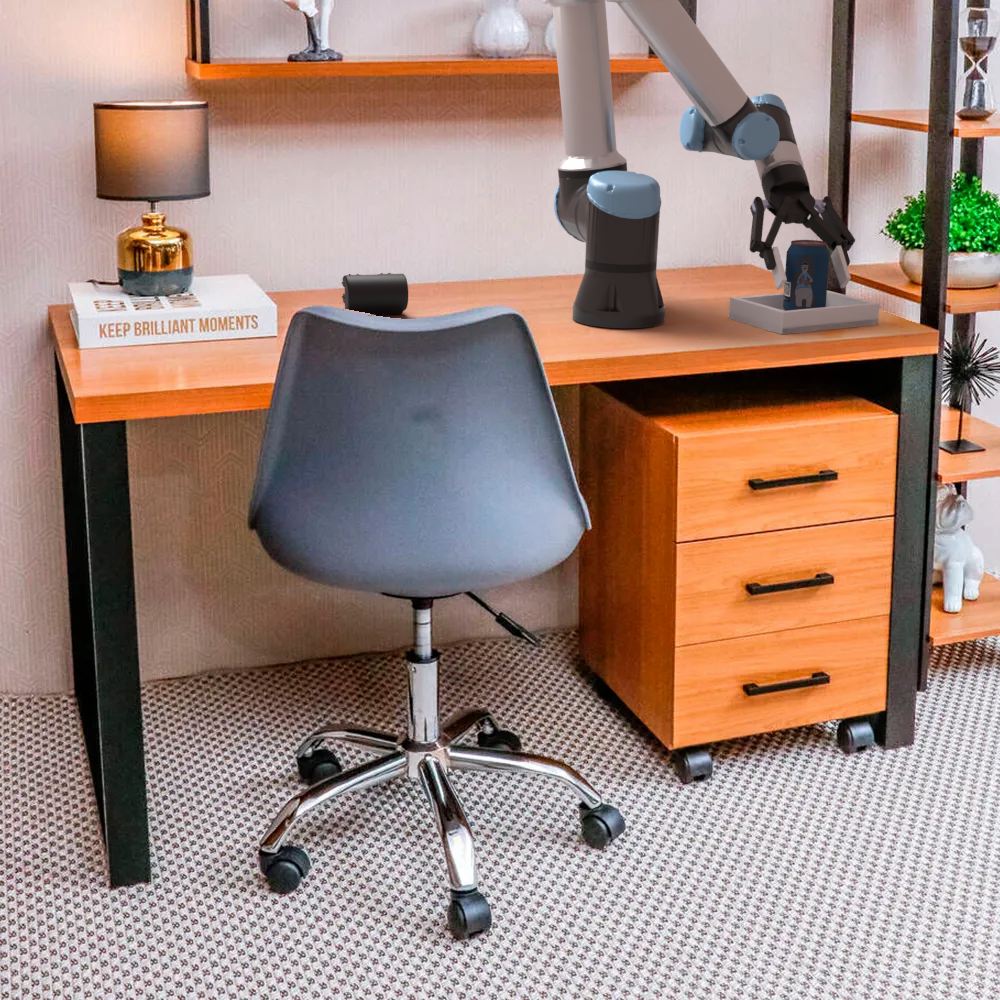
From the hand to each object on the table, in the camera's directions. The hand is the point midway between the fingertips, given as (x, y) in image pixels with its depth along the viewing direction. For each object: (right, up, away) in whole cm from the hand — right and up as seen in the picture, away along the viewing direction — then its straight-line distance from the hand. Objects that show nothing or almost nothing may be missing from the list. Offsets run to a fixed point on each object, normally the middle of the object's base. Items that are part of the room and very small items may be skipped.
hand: (814, 283), depth 233 cm
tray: (-1, -6, +5) cm, 7 cm away
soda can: (-1, -5, +5) cm, 7 cm away
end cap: (-72, -5, +4) cm, 72 cm away
